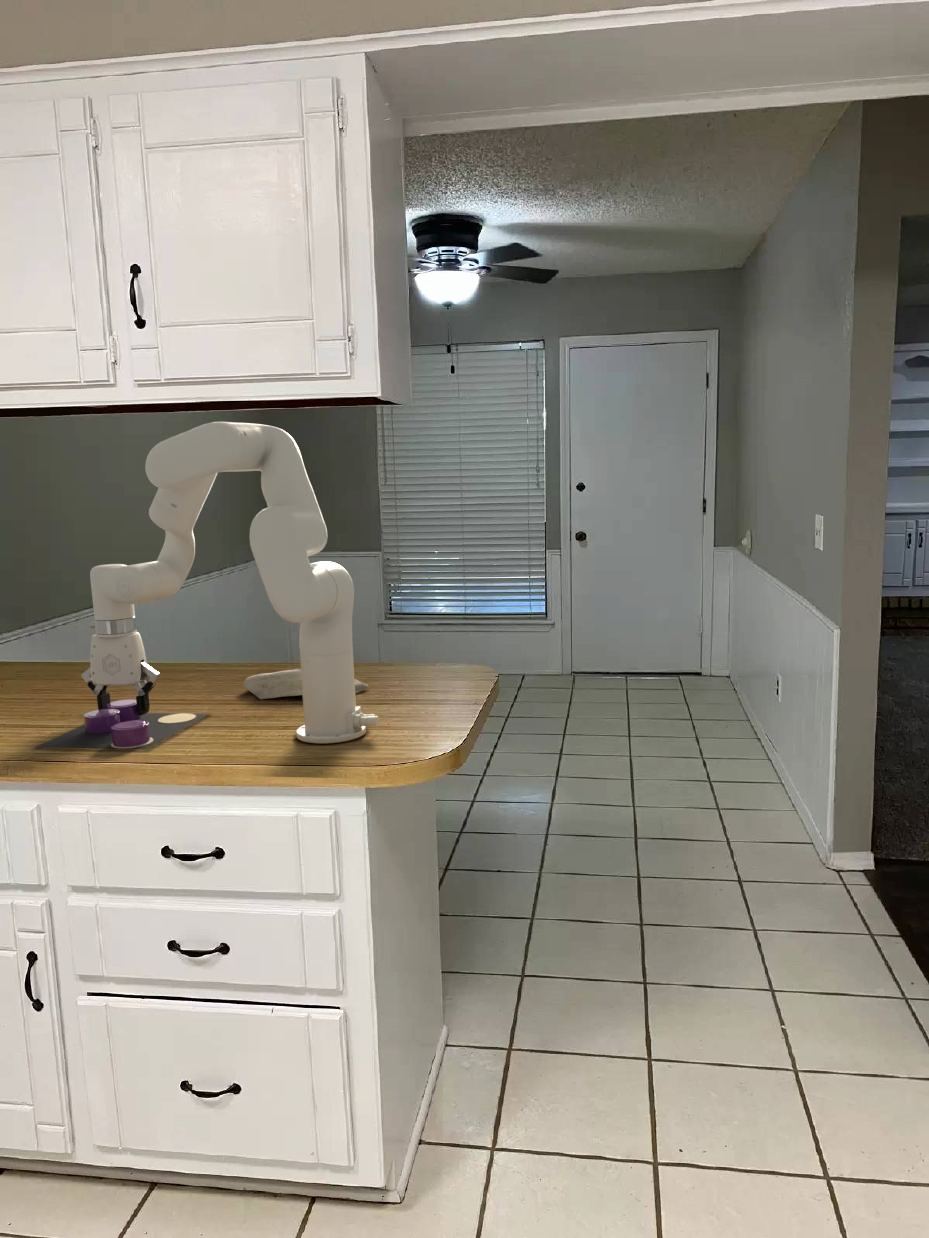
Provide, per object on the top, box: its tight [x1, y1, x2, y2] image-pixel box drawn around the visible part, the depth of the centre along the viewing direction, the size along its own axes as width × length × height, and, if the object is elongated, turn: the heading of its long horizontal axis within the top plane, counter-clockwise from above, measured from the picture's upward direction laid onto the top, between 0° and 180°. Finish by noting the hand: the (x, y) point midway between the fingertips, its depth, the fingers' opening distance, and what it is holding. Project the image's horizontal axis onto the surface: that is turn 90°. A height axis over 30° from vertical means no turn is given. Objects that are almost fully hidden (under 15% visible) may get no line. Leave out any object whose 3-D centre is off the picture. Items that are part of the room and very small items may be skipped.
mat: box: [36, 712, 210, 751], centre depth 172 cm, size 22×24×1 cm
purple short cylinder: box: [111, 720, 150, 747], centre depth 163 cm, size 6×6×3 cm
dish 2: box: [106, 698, 142, 722], centre depth 180 cm, size 6×6×3 cm
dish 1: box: [83, 709, 121, 734], centre depth 173 cm, size 6×6×3 cm
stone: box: [242, 668, 369, 700], centre depth 199 cm, size 28×7×15 cm
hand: (124, 713), depth 180 cm, fingers open, 7 cm apart
